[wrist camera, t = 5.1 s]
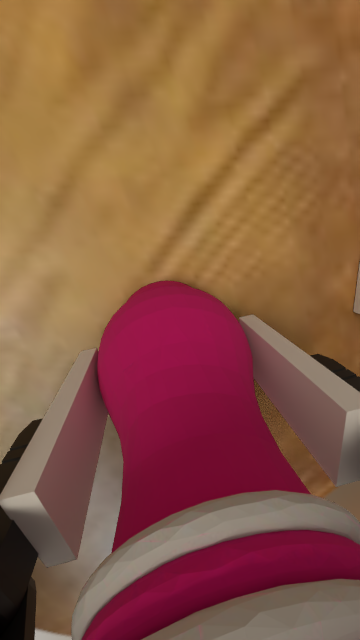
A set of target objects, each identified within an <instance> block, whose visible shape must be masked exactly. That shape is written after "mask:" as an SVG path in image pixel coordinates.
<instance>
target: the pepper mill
mask: <svg viewBox="0 0 360 640" xmlns="http://www.w3.org/2000/svg"><path fill="white" fill-rule="evenodd" d="M97 374H98V381H99V388H100V392H101V395H102V398H103V401H104V404H105V406H106V409H107V411H108V413H109V415H110V417H111V420H112V422H113V424H114V426H115V428H116V431H117V433H118V435H119V438H120V442H121V448H122V455H123V461H124V464H123V482H122V501H121V507H120V512H119V517H118V522H117V528H116V533H115V538H114V543H113V548H112V553H111V554H110V555H109V556H108V557H107V558H106V559H105V560H104V561H103V562H102V563H101V564H100V565H99V567H98V568H97V569H96V571H95V572H94V573H93V574H92V576H91V577H90V578H89V580H88V581H87V583H86V584H85V586H84V587H83V589H82V591H81V593H80V596H79V599H78V601H77V604H76V607H75V610H74V612H73V615H72V630H71V633H72V640H360V522H359V521H358V520H357V519H356V518H355V516H353V515H352V514H351V513H350V512H349V511H348V510H347V509H345V508H343V507H342V506H340V505H338V504H336V503H335V502H332V501H329V500H326V499H323V498H320V497H317V496H314V495H311V494H310V492H309V491H308V490H307V488H306V487H305V485H304V484H303V483H302V481H301V480H300V478H299V477H298V476H297V474H296V473H295V471H294V470H293V469H292V467H291V466H290V464H289V463H288V462H287V460H286V459H285V457H284V456H283V455H282V453H281V452H280V450H279V448H278V446H277V444H276V442H275V440H274V438H273V436H272V434H271V432H270V430H269V428H268V427H267V425H266V423H265V421H264V419H263V417H262V414H261V411H260V408H259V405H258V402H257V399H256V396H255V389H254V379H253V357H252V353H251V349H250V346H249V343H248V340H247V337H246V334H245V332H244V330H243V328H242V326H241V324H240V323H239V322H238V321H237V319H236V318H235V317H234V315H233V314H232V313H231V311H230V310H229V309H228V308H227V307H226V306H225V305H224V304H223V303H222V302H221V301H219V300H218V299H216V298H215V297H213V296H212V295H210V294H208V293H206V292H203V291H201V290H198V289H194V288H192V287H190V286H188V285H186V284H183V283H180V282H175V281H159V282H155V283H152V284H149V285H147V286H144V287H142V288H141V289H139V290H138V291H136V292H135V293H134V294H133V295H132V296H131V297H130V298H129V299H128V301H127V302H126V303H125V304H124V305H123V306H122V307H121V308H120V309H119V310H118V311H117V312H116V313H115V314H114V315H113V317H112V318H111V320H110V321H109V323H108V325H107V326H106V328H105V331H104V333H103V336H102V338H101V343H100V347H99V352H98V363H97Z"/></svg>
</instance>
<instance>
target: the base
mask: <svg viewBox="0 0 360 640" xmlns="http://www.w3.org/2000/svg"><path fill="white" fill-rule="evenodd" d="M353 312H355V313H358V314H360V264H359V271H358V279H357V287H356V295H355V302H354V310H353Z"/></svg>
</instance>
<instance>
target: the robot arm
mask: <svg viewBox="0 0 360 640" xmlns="http://www.w3.org/2000/svg"><path fill="white" fill-rule="evenodd" d="M239 323H240V324H241V326H242V328H243V330H244V332H245V334H246V337H247V340H248V343H249V346H250V349H251V353H252V357H253V378H254V379H255V381H256V382H257V383H258V384H259V386H260V387H261V388H262V390H263V391H264V392H265V394H266V395H267V396H268V398H269V399H270V400H271V402H272V403H273V404H274V406H275V407H276V408H277V410H278V411H279V412H280V413H281V415H282V416H283V417H284V419H285V420H286V421H287V423H288V424H289V425H290V427H291V428H292V429H293V431H294V432H295V433H296V435H297V436H298V437H299V439H300V440H301V441H302V442H303V444H304V445H305V446H306V448H307V449H308V450H309V452H310V453H311V454H312V456H313V457H314V458H315V460H316V461H317V462H318V464H319V465H320V466H321V467H322V469H323V470H324V471H325V473H326V474H327V475H328V477H329V478H330V479H331V481H332V482H333V483H334V485H335V486H336V487H338V486H341V485H345V484H348V483H352V482H355V481H359V480H360V377H359V376H358V377H357V376H356V374H354V373H353V372H351V371H350V370H348V369H347V370H346V368H345V367H344V366H342V365H341V364H339V363H338V362H336V361H335V360H333V359H330V358H328V357H325V356H322V355H320V354H315V355H311V356H309V355H308V354H307V353H305V352H304V351H303V350H301V349H300V348H298V347H297V346H296V345H294V344H293V343H292V342H290V341H289V340H287V339H286V338H285V337H283V336H282V335H281V334H279V333H278V332H277V331H275V330H274V329H272V328H271V327H270V326H268V325H267V324H266V323H264V322H263V321H261V320H260V319H259V318H257V317H256V316H255V315H249V316H244V317H239ZM97 363H98V350H97V348H93V349H89V350H84V351H81V352H80V354H79V355H78V357H77V359H76V361H75V362H74V364H73V366H72V368H71V370H70V371H69V373H68V375H67V377H66V378H65V380H64V382H63V384H62V386H61V387H60V389H59V391H58V393H57V395H56V396H55V398H54V400H53V402H52V403H51V405H50V407H49V409H48V411H47V412H46V414H45V416H44V418H43V419H38V420H34V421H32V422H31V423H30V424H29V425H28V426H27V427H26V428H25V429H24V430H23V431H22V432H21V433H20V434H19V435H18V437H17V438H16V440H15V442H14V443H13V445H12V446H11V448H10V451H9V452H8V453H7V454H6V456H5V457H4V459H3V460H2V464H0V640H34V635H35V612H36V586H35V581H34V580H33V579H32V577H31V575H32V572H33V569H34V566H35V563H36V560H37V557H39V558H40V559H41V561H42V562H43V563H44V565H45V566H46V567H47V568H48V567H51V566H55V565H59V564H62V563H66V562H69V561H73V560H76V559H77V557H78V552H79V548H80V543H81V538H82V534H83V529H84V524H85V519H86V515H87V510H88V505H89V500H90V496H91V491H92V486H93V482H94V477H95V472H96V467H97V463H98V458H99V453H100V448H101V444H102V439H103V434H104V429H105V425H106V420H107V415H108V411H107V409H106V406H105V404H104V401H103V398H102V395H101V392H100V388H99V381H98V374H97Z"/></svg>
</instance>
